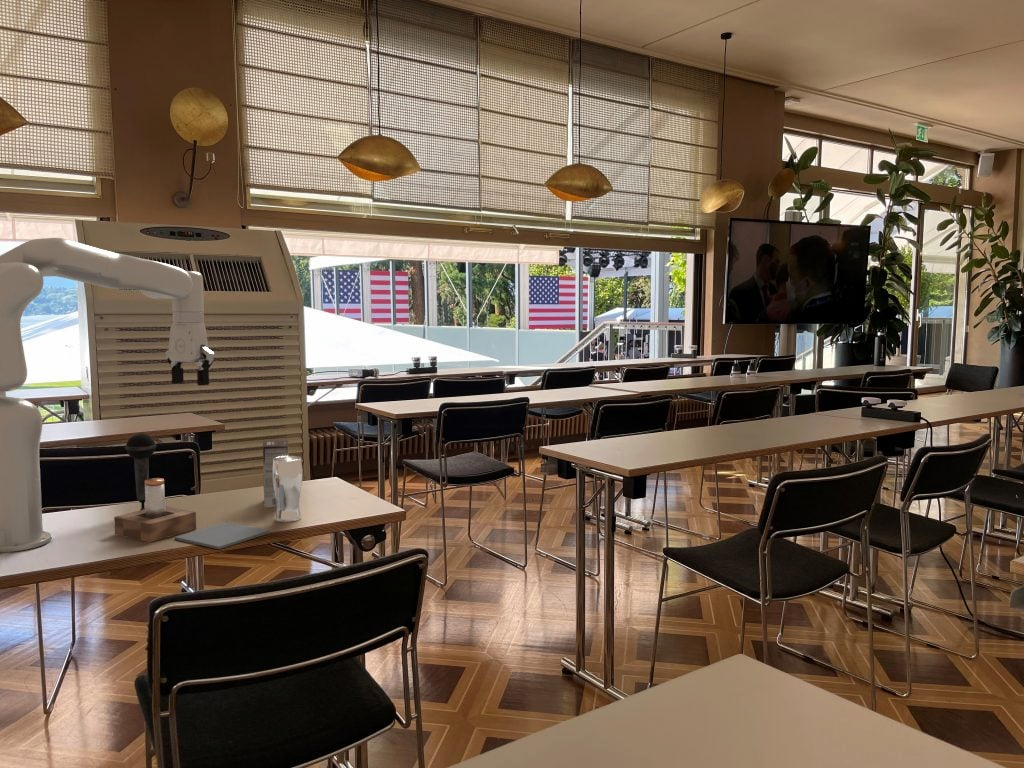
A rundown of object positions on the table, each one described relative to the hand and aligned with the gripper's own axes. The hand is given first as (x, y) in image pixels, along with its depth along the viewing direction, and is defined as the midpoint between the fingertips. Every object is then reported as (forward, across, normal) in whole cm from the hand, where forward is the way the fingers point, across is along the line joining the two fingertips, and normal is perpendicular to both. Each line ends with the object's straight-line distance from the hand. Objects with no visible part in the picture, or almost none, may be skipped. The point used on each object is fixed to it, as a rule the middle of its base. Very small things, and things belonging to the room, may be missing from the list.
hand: (190, 384), depth 198 cm
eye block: (+31, +17, -24) cm, 43 cm away
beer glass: (+31, +35, -1) cm, 47 cm away
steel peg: (+31, +17, -24) cm, 43 cm away
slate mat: (+31, +33, -19) cm, 49 cm away
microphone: (+31, 0, -15) cm, 35 cm away
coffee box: (+31, +21, +9) cm, 39 cm away
